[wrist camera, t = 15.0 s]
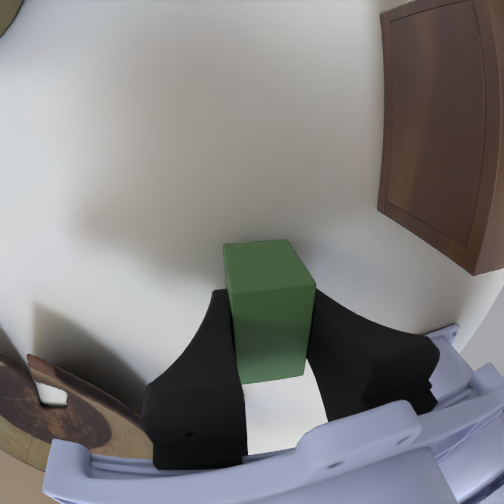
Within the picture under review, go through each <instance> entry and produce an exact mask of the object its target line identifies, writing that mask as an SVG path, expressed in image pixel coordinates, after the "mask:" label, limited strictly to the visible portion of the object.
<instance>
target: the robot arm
mask: <svg viewBox="0 0 504 504" xmlns="http://www.w3.org/2000/svg"><path fill="white" fill-rule="evenodd" d="M458 330H459V325H458V324H454V325H451V326H449V327H446V328H443V329H440V330H438V331H435V332H432V333H429V334H426V335H423V336H422V335H416V334H411V333H406V332H402V331H399V330H395V329H392V328H388V327H386V326H383V325H380V324H377V323H375V322H372V321H370V320H368V319H366V318H364V317H362V316H360V315H358V314H356V313H354V312H352V311H350V310H349V309H347V308H345V307H343V306H342V305H340V304H339V303H337V302H336V301H334V300H333V299H331V298H330V297H328V296H327V295H325V294H324V293H323V292H321V291H320V290H318V289H317V288H316V291H315V299H314V307H313V314H312V322H311V329H310V336H309V343H308V349H307V356H306V358H307V360H308V362H309V364H310V366H311V369H312V371H313V373H314V376H315V378H316V382H317V385H318V388H319V391H320V394H321V398H322V401H323V404H324V408H325V412H326V415H327V419H328V423H325V424H322V425H320V426H317V427H315V428H313V429H312V430H310V431H309V432H307V433H305V434H304V435H303V437H302V438H301V439H300V440H299V442H298V443H297V446H296V447H295V448H290V449H285V450H280V451H274V452H268V453H262V454H255V455H248V447H247V428H246V413H245V401H244V395H243V389H242V385H241V381H240V377H239V373H238V368H237V363H236V359H235V354H234V349H233V338H232V325H231V312H230V301H229V296H228V291H227V289H221V290H214V291H213V292H212V298H211V301H210V305H209V307H208V310H207V312H206V315H205V317H204V319H203V321H202V323H201V325H200V327H199V329H198V331H197V333H196V334H195V336H194V338H193V339H192V341H191V342H190V344H189V345H188V346H187V348H186V349H185V350H184V352H183V353H182V354H181V355H180V356H179V358H178V359H177V360H176V361H175V362H174V363H173V364H172V365H171V366H170V367H169V368H168V369H167V370H166V371H165V372H164V373H163V374H161V375H160V376H159V377H158V378H156V379H155V380H154V381H153V382H151V383H150V384H149V385H148V387H147V390H146V393H145V396H144V400H143V403H142V409H141V420H140V423H141V426H142V429H143V430H144V432H145V433H146V435H147V436H148V438H149V439H150V441H151V442H152V444H153V460H150V459H133V458H121V457H112V456H103V455H96V454H91V453H90V452H89V451H88V449H87V448H85V447H84V446H83V445H80V444H78V443H74V442H69V441H64V440H59V439H53V440H52V444H51V448H50V452H49V457H48V461H47V466H46V471H45V477H44V482H43V488H42V491H43V492H44V493H45V494H46V495H48V496H50V497H51V498H53V499H55V500H56V501H58V502H60V503H62V504H504V378H503V377H502V376H501V375H500V374H499V372H498V371H497V370H496V369H495V368H494V367H493V365H492V364H491V363H487V364H485V365H484V366H482V367H481V368H479V369H477V370H476V371H475V372H473V370H472V369H471V368H470V367H469V365H468V364H467V363H466V362H465V361H464V359H463V358H462V357H461V356H460V355H459V354H458V352H457V351H456V350H455V349H454V348H453V347H452V345H451V344H452V342H453V340H454V338H455V336H456V334H457V332H458Z"/></svg>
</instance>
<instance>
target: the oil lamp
mask: <svg viewBox="0 0 504 504" xmlns="http://www.w3.org/2000/svg"><path fill="white" fill-rule="evenodd" d="M27 360H28V365H29V367H30V370H31V377H32V379H33V380H34V381H36V382H39V383H43V384H46V385H49V386H53V387H55V388H58V389H61V390H63V391H65V392H66V393H67V394H68V397H67V401H66V403H67V407H48V408H46V407H43V406H41V405H40V403H39V398H38V394H37V391H36V388H35V384H34V383H33V381H32V379H30V377H29V374H28V373H27V372H26V371H25V370H24V369H22V368H21V367H20V366H19V365H18V364H16V363H15V362H13V361H11V360H9V359H8V358H7V357H6V356H5V355H3V354H2V353H0V449H1V450H3V451H5V452H6V453H8V454H9V455H11V456H13V457H14V458H16V459H18V460H20V461H22V462H24V463H26V464H28V465H30V466H32V467H34V468H36V469H39V470H41V471H43V472H45V471H46V466H47V461H48V457H49V452H50V448H51V444H52V440H53V439H59V440H64V441H69V442H74V443H78V444H80V445H83V446H84V447H85V448H87V449H88V451H89V452H90V453H91V454H96V455H103V456H112V457H121V458H133V459H150V460H153V444H152V442H151V441H150V439H149V438H148V436H147V435H146V433H145V432H144V430H143V429H142V426H141V423H140V420H141V416H140V415H138V414H136V413H135V412H133V411H132V410H131V409H129V408H128V407H127V406H126V405H124V404H123V403H122V402H120V401H119V400H118V399H117V398H115V397H113V396H111V395H109V394H108V393H106V392H105V391H103V390H101V389H99V388H98V387H96V386H94V385H92V384H90V383H88V382H86V381H84V380H82V379H80V378H78V377H76V376H75V375H73V374H71V373H69V372H67V371H65V370H63V369H61V368H59V367H57V366H55V365H53V364H51V363H49V362H47V361H45V360H43V359H40V358H38V357H36V356H33V355H31V354H27Z"/></svg>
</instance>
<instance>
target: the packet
mask: <svg viewBox="0 0 504 504" xmlns="http://www.w3.org/2000/svg"><path fill="white" fill-rule="evenodd" d="M223 256H224V271H225V285H226V289H227V291H228V296H229V301H230V312H231V325H232V338H233V349H234V354H235V359H236V363H237V368H238V373H239V377H240V381H241V384H250V383H258V382H265V381H272V380H278V379H285V378H290V377H296V376H302V375H303V374H304V368H305V362H306V356H307V349H308V343H309V336H310V329H311V322H312V314H313V307H314V299H315V291H316V282H315V281H314V279H313V278H312V276H311V275H310V273H309V272H308V270H307V269H306V267H305V266H304V264H303V263H302V261H301V260H300V258H299V257H298V255H297V254H296V252H295V251H294V249H293V248H292V246H291V245H290V243H289V242H288V240H286V239H284V240H271V241H257V242H245V243H232V244H223Z"/></svg>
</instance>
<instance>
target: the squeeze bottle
mask: <svg viewBox="0 0 504 504" xmlns="http://www.w3.org/2000/svg"><path fill="white" fill-rule="evenodd" d="M22 1H23V0H0V37H1V35H2V34H3V33H4V31H5V30H6V28H7V27H8V26H9V24H10V23H11V22H12V20H13V19H14V17H15V15H16V13H17V11H18V9H19V7H20V5H21V3H22Z"/></svg>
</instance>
